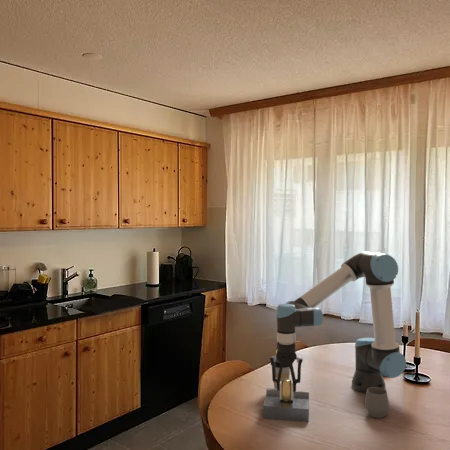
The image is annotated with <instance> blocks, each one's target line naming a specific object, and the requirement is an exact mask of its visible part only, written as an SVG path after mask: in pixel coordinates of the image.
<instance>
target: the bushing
mask: <svg viewBox="0 0 450 450" xmlns="http://www.w3.org/2000/svg"><path fill="white" fill-rule="evenodd" d="M291 382H292V378H289V379H287V378H285V379H282V403H292V400H291Z"/></svg>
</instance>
